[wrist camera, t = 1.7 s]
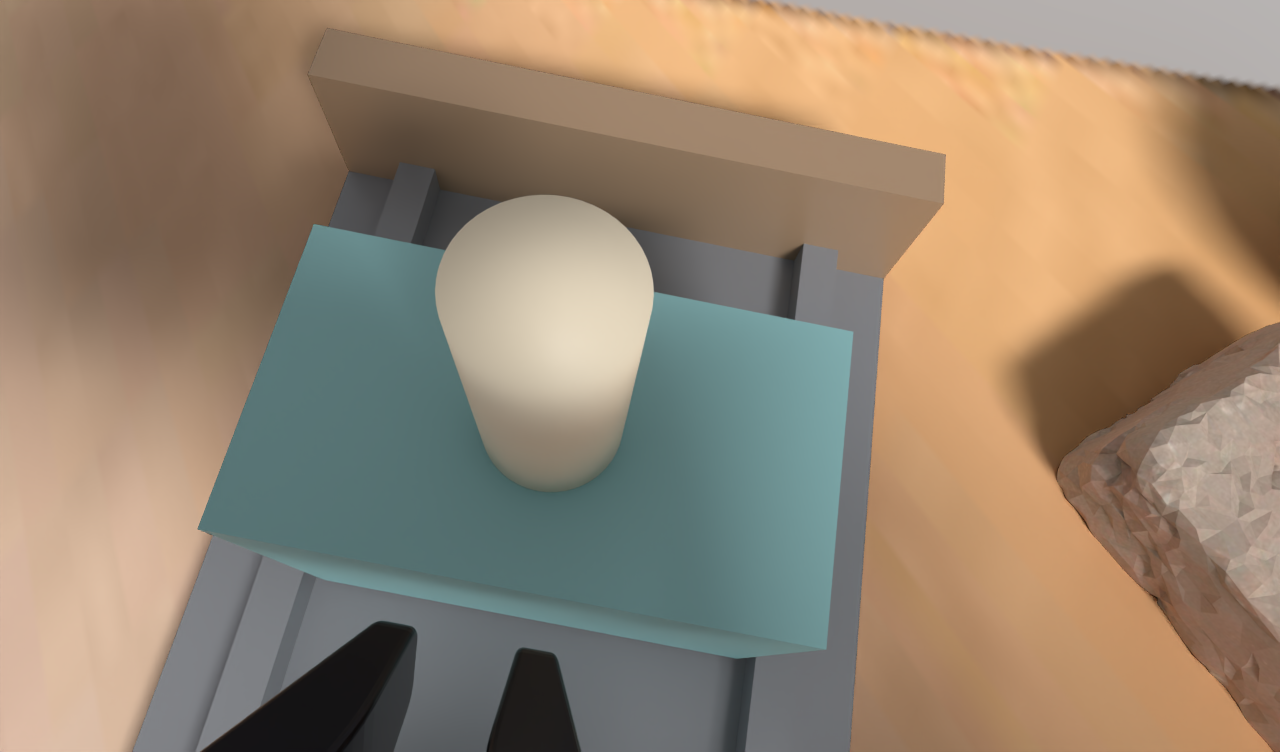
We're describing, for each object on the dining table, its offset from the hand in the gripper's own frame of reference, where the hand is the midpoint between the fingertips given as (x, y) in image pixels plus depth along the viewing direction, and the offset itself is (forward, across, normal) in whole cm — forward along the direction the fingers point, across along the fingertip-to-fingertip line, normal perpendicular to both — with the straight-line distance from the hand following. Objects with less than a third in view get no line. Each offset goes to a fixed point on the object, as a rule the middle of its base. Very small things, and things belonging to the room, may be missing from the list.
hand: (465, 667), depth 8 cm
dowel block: (+11, 0, +5) cm, 12 cm away
